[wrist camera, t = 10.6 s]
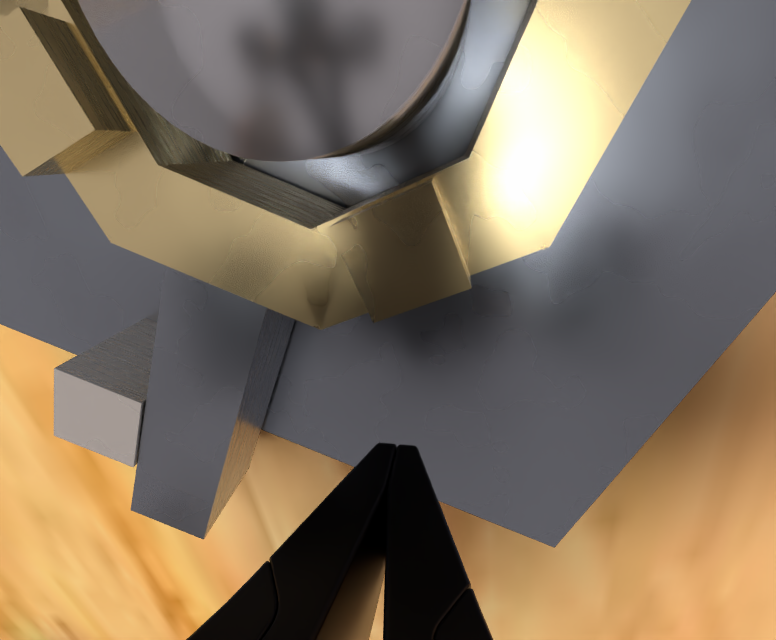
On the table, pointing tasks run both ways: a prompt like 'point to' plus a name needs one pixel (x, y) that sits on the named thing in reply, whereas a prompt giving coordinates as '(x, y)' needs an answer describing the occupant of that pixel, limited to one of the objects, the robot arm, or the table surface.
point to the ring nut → (303, 215)
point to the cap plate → (489, 287)
